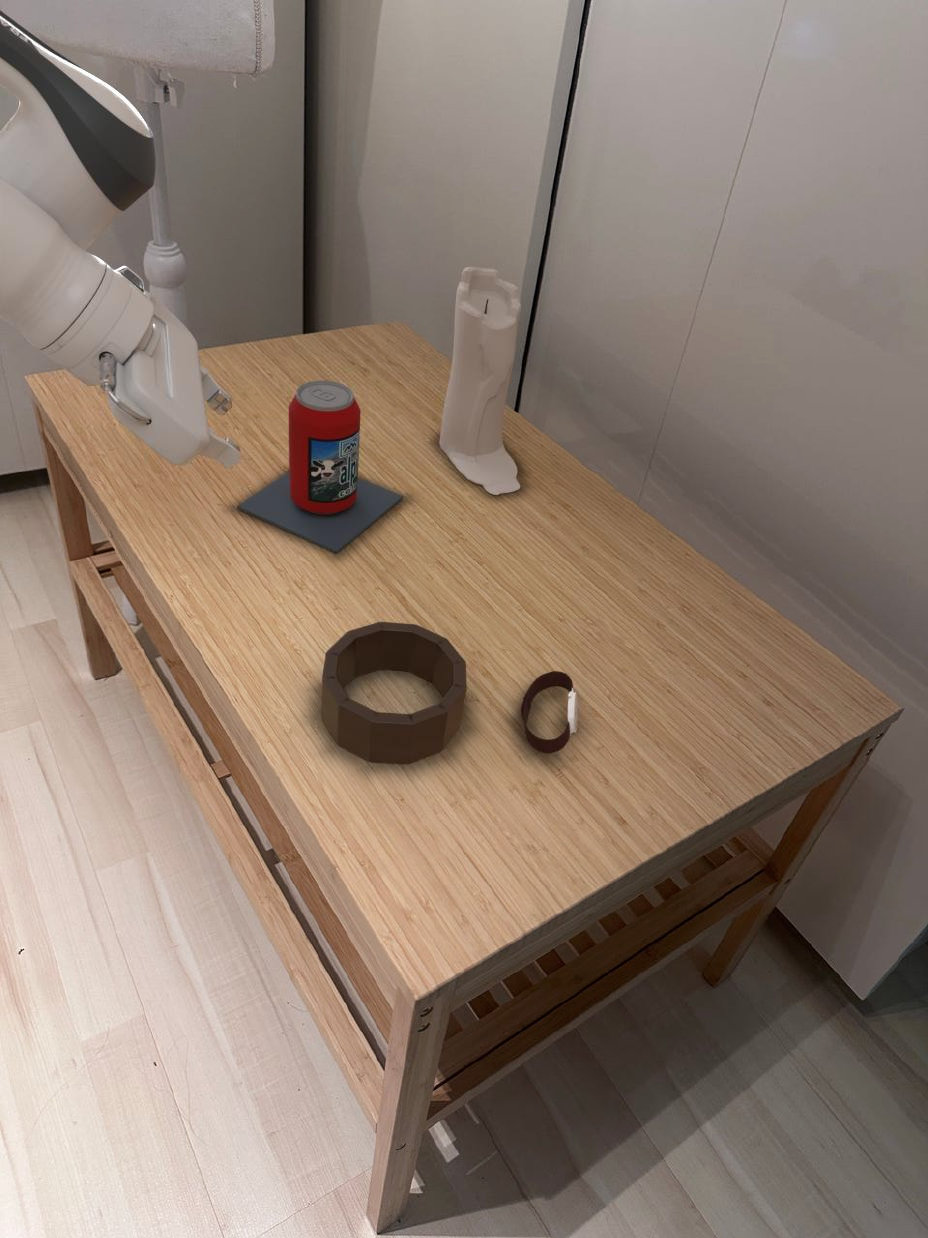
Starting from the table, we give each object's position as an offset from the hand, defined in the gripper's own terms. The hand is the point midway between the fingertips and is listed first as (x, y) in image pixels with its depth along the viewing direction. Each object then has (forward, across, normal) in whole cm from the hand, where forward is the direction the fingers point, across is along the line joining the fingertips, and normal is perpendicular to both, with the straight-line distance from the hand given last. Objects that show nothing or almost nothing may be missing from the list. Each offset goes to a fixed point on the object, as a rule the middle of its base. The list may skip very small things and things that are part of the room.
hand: (231, 432), depth 80 cm
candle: (+26, +7, -13) cm, 30 cm away
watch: (+22, -32, -9) cm, 40 cm away
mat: (+12, 0, 0) cm, 12 cm away
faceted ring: (+13, -29, 0) cm, 31 cm away
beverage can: (+12, 0, 0) cm, 12 cm away
